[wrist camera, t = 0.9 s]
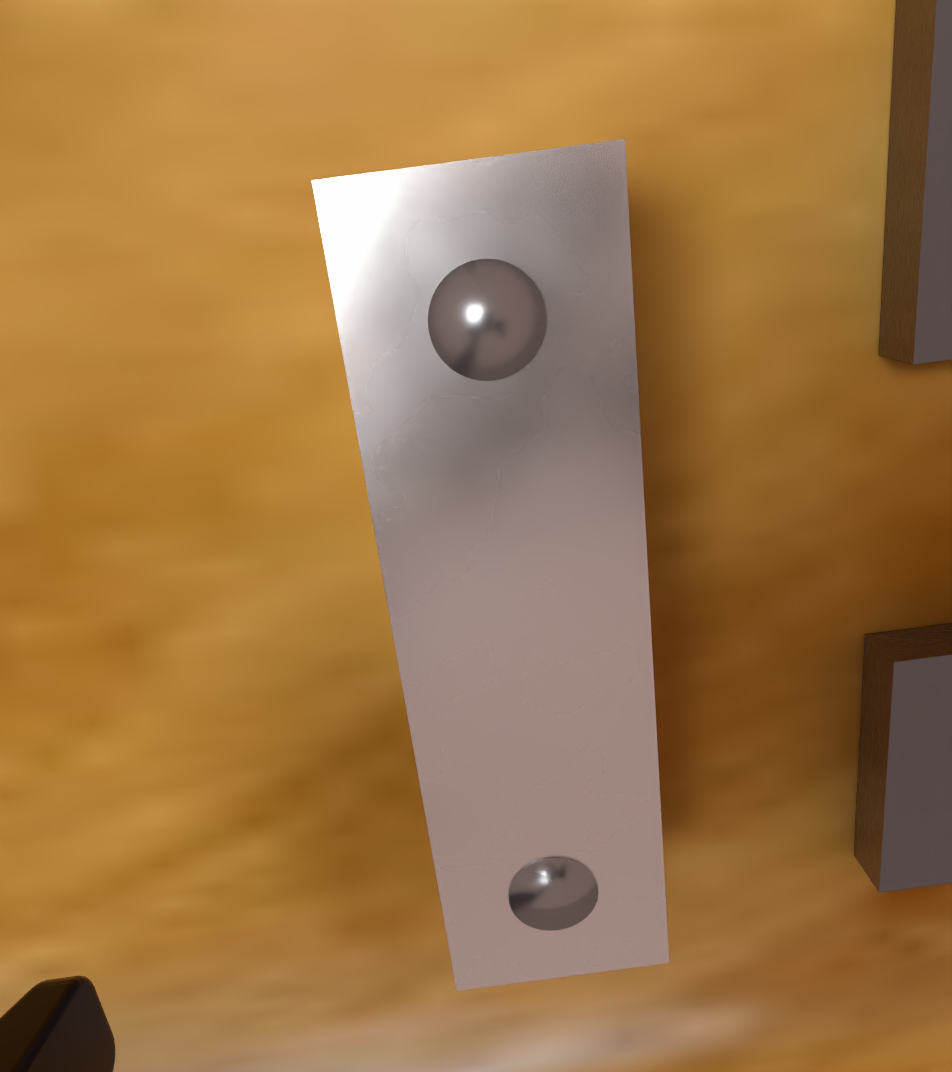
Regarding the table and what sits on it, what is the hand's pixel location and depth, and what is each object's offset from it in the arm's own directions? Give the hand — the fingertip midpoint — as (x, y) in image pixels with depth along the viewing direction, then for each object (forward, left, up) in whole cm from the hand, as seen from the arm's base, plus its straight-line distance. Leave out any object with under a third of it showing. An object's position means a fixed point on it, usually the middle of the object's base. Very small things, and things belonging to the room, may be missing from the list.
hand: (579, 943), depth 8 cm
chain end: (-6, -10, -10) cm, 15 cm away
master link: (0, 0, -10) cm, 10 cm away
